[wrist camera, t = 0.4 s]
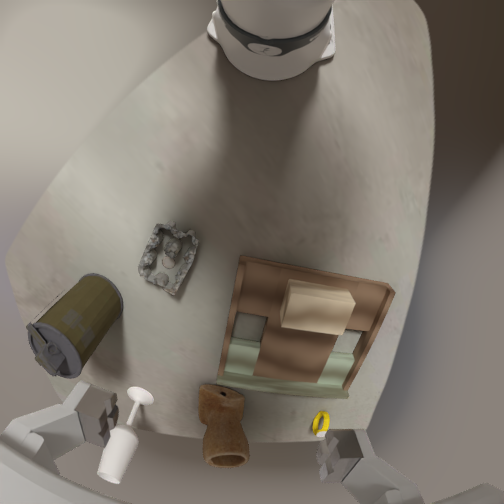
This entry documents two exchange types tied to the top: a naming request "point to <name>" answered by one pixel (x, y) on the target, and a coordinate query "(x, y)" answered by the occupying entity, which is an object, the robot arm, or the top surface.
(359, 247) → the top surface
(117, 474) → the champagne flute
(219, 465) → the clay pipe
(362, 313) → the brown shallow open piece
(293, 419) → the top surface
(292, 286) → the block
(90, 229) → the top surface
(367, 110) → the top surface
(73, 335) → the canister
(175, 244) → the egg carton
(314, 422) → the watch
